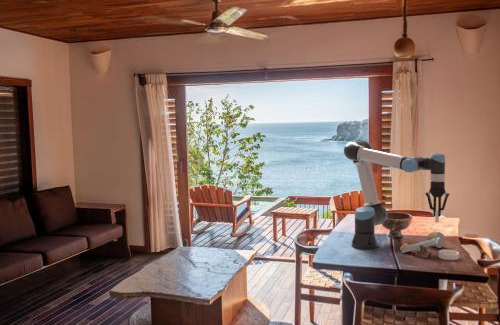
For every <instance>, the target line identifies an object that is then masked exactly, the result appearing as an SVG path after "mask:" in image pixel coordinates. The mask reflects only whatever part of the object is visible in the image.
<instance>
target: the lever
mask: <svg viewBox="0 0 500 325" xmlns="http://www.w3.org/2000/svg"><path fill="white" fill-rule="evenodd" d="M439 239H440V237H438V238H434V239H432V240H428V241H427V240H423V241H424V242H423V241H420V242H418V243H413V244H408V245H409V247H408V248H404V249H403V247H402V246H400V248H399V249H400V252H401V254H403V253H408V252H412V251H414V250H415V251H416V250H419V249H420V245H423V247H426V248H428V247H432V246H431V245H435V244H437V243H438V241H439Z"/></svg>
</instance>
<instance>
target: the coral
mask: <svg viewBox="0 0 500 325" xmlns="http://www.w3.org/2000/svg"><path fill="white" fill-rule="evenodd" d="M438 237H440V239H439V241H438V243H437V244H435V245H431V246H430V247H432V248H437V249H441V248H444V245H445V243H446V236H444V234H443V233H442V232H440V231H433V232H430V233H429V234H427V235H426V241H428V240H432V239H434V238H438Z"/></svg>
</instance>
